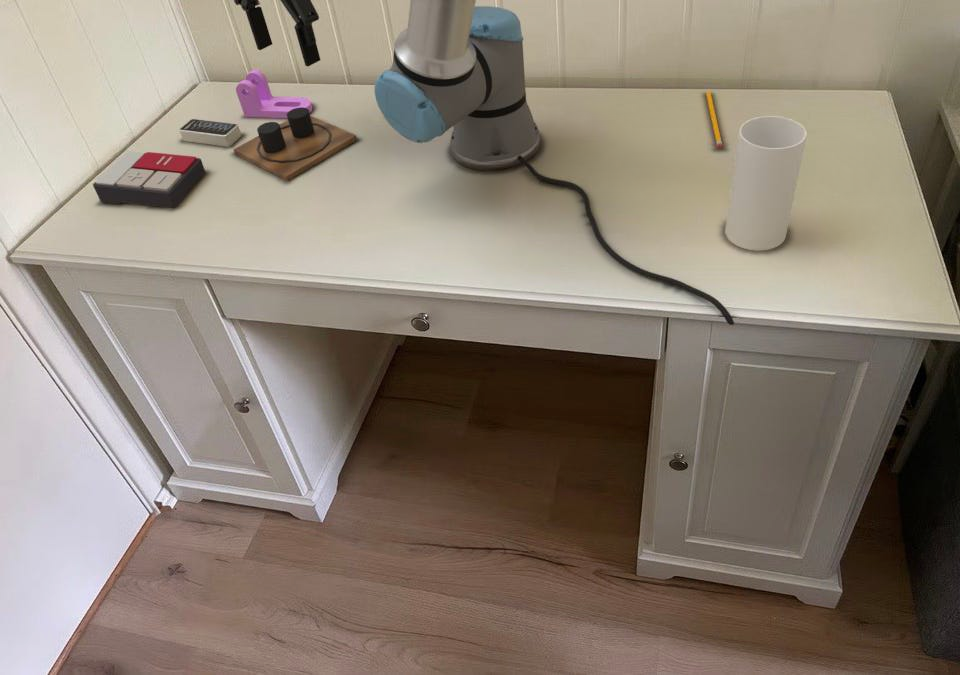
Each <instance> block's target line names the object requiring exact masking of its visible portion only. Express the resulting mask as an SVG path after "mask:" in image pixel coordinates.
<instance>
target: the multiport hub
mask: <svg viewBox="0 0 960 675" xmlns="http://www.w3.org/2000/svg"><path fill="white" fill-rule="evenodd" d="M178 131H179V134H180V136H181V139H182V141H183V142H188V143H196V144H203V145H209V146H218V147H225V148H226V147H227V148H229V147H232V145H234V144H235V143H236V142H237V141H238V140H239V139H240V138H242V136H243V134H242V132H241V129H240V126H239V124H238V123H232V122H231V123H230V122H223V121H214V120H206V119H198V118H191V119H190V120H188V121H186V123H185V124H184V125H183V126H181V127H180V128H179V129H178Z"/></svg>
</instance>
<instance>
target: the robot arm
mask: <svg viewBox="0 0 960 675" xmlns="http://www.w3.org/2000/svg"><path fill="white" fill-rule="evenodd" d="M279 1H280V2H281V3H282V5H283V6H284V8H285V9H286V11H287V12H288V14H289V15H290V17H291V18H292V20H293V21H294V22H295V25H294V27H293V28H294V30H295V35H296V38H297V42H298V45H299V48H300V52H301V55H302V59H303V63H304V66H305V67H310V66H312V65H314V64H316V63H318V62H319V61H321V56H320V52H319V49H318V45H317V39H316V36H315V31H314V27H313V23H315V22H317V21H318V20H320V16H319V12H318V11H317V10H316V8H315V6H314V4H313V2H312V0H279ZM409 1H410V2H409V10H408V11H409V12H408V19H407V28H405V29H403V30H402V31H401V32H399V33H398V35H397V37H395V38H396V39H395V42H394V46H393V47H394V48H393V58H392V65H391V66H390V68H389V69H385V70H384V71H381V73H380V75H378V77H377V78H376V80H375V83H374V88H373V90H374V96H375V97H374V98H375V101H376V104H377V106H378V108H379V110H380V112H381V114H382V115H383V117H384V118H385V121H386V122H387V123H388V124H389V125H390V126H391V127H392V129H393V130H394V131H395V132H396V133H398V134H399V135H401V136H402V137H403V138H404V139H407V140H408V141H410V142H413V143H416V144H417V143H418V144H423V143H429V142H432V140H434V139H436V138H437V137H441V136H443V135H445V133H446V132H447V131H449V130H450V129H451V128H452V132H451V135H450V142H449V144H450V151H451V155H452V157H453V159H454V160H455V161H456V162H458V163H459V164H460V165H462V166H463V167H467V168H470V169H474V170H479V171H499V170H506V169H509V168H514V167H517V166H519V165H523V166H524V167H525V168H526V169H527V170H528V171H529V172H530V173H531V175H532V176H534V177H535V178H536V179H537V180H540V181H542V182H545V183H548V184H551V185H557V186H562V187H567V188H569V189H570V188H571V189H572V190H574V191H576V192H578V193H579V195H580V196H581V197H582V200H583V203H584V209H585V213H586V215H587V218H588V221H589V223H590V226H591V229H592V232H593V234H594V236H595V238H596V240H597V241H598V243H599V244H600V246H601V247H602V248H603V249H604V250H605V251H606V252H607V253H608V255H610V256H611V257H612V258H613V259H614V260H615V261H616V262H618V263H619V264H621V265H623V266H624V267H626V268H627V269H629V270H631V271H633V272H635V273H637V274H639V275H641V276H643V277H646V278H648V279H652V280H656V281H659V282H663V283H666V284H669V285H672V286H675V287H677V288H680V289H682V290H685V291H686V292H689V293H690V294H693V295H695V296H697V297H699V298H702V299H704V300H705V301H708V302H709V303H710V304H712V305H713V306H714V307H715V308H716V309H717V310H718V311H719V312H720V314H721V315H722V316H723V318H724V319H725V321H726V323H727V324H728V325H730V326H733V325H735V321H734V319H733V317H732V315H731V314H730V312H729V311H728V310H727V308H726V307H725V306H724V305H723V304H722V302H721V301H719V300H718V299H717V298H715V297H714V296H712V295H711V294H709V293H706V292H705V291H702V290H700V289H698V288H695V287H693V286H691V285H690V284H687V283H684V282H682V281H681V280H678V279H675V278H672V277H669V276H666V275H662V274H658V273H654V272H650V271H648V270H645V269H643V268H641V267H639V266H636V265H635V264H633V263H631V262H630V261H628V260H626V259H625V258H624V257H622V256H620V255H619V254H618V253H617V252H616V251H615V250H614V249H612V247H611V246H610V245H609V244H608V243H607V242H606V240H605V239H604V238H603V236H602V234H601V232H600V230H599V227H598V224H597V222H596V220H595V219H596V218H595V217H594V215H593V211H592V209H591V204H590V199H589V196H588V194H587V193H586V191H585V190H584V189H583V188H582V187H581V186H579V185H578V184H576V183H573V182H571V181H567V180H562V179H555V178H551V177H548V176H545V175H542V174H540V173H539V172H538V171H537V170H536V169H535V168H534V167H533V166H532V165H531V163H529V161H528V160H530V159H531V158H533V157H534V156H535V155H536V153H538V151H539V149H540V145H541V139H540V137H541V136H540V131H539V128H538V125H537V123H536V122H535V119H534V116H533V113H532V111H531V109H530V107H529V104H528V102H527V92H526V90H527V89H526V75H525V62H524V61H525V60H524V59H525V58H524V44H523V41H524V36H523V34H522V33H523V32H522V26H521V25H522V24H521V20H520V18H519V17H518V15H517V14H516V13H515V12H513V11H511V10H509V9H507V8H503V7H498V6H491V5H489V6H488V5H477V6H476V3H477V0H409ZM233 2H234V4H235V6H241V9H242V10H243V11H244V12H245V15H246V18H247V21H248V24H249V27H250V30H251V34H252V36H253V39H254V42H255V44H256V48H257V50H259V51H262V50H264V49H266V48H268V47H270V46H272V45H273V41H272V38H271V35H270V32H269V28H268V24H267V21H266V18H265V15H264V12H263V8H262V6H259V5H261V2H260V1H259V0H233Z"/></svg>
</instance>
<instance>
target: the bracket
mask: <svg viewBox="0 0 960 675" xmlns="http://www.w3.org/2000/svg"><path fill="white" fill-rule="evenodd" d="M235 93H236V95H237V98H238V101H239V104H240V107H241V110H242V113H243V115H244V118H267V119H268V118H269V119H270V118H271V119H288V118H287V113H288V112H289V111H290V110H292V109H295V108H300V107H303V108H307V109H308V110H309V113H312V111H313V106H312V102H311V100H310V99H309V98H308V97H299V96H298V97H296V96H273V95H272V92H271V89H270V86H269V83H268V79H267V77H266V75H265V74H264V73H263V72H262V71H260V70H259V69H252V70H251V71H250V72H248V73H247V74H246V76H245V79H243V80H241V81H240V82H239V83H237V85H236V87H235Z"/></svg>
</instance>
